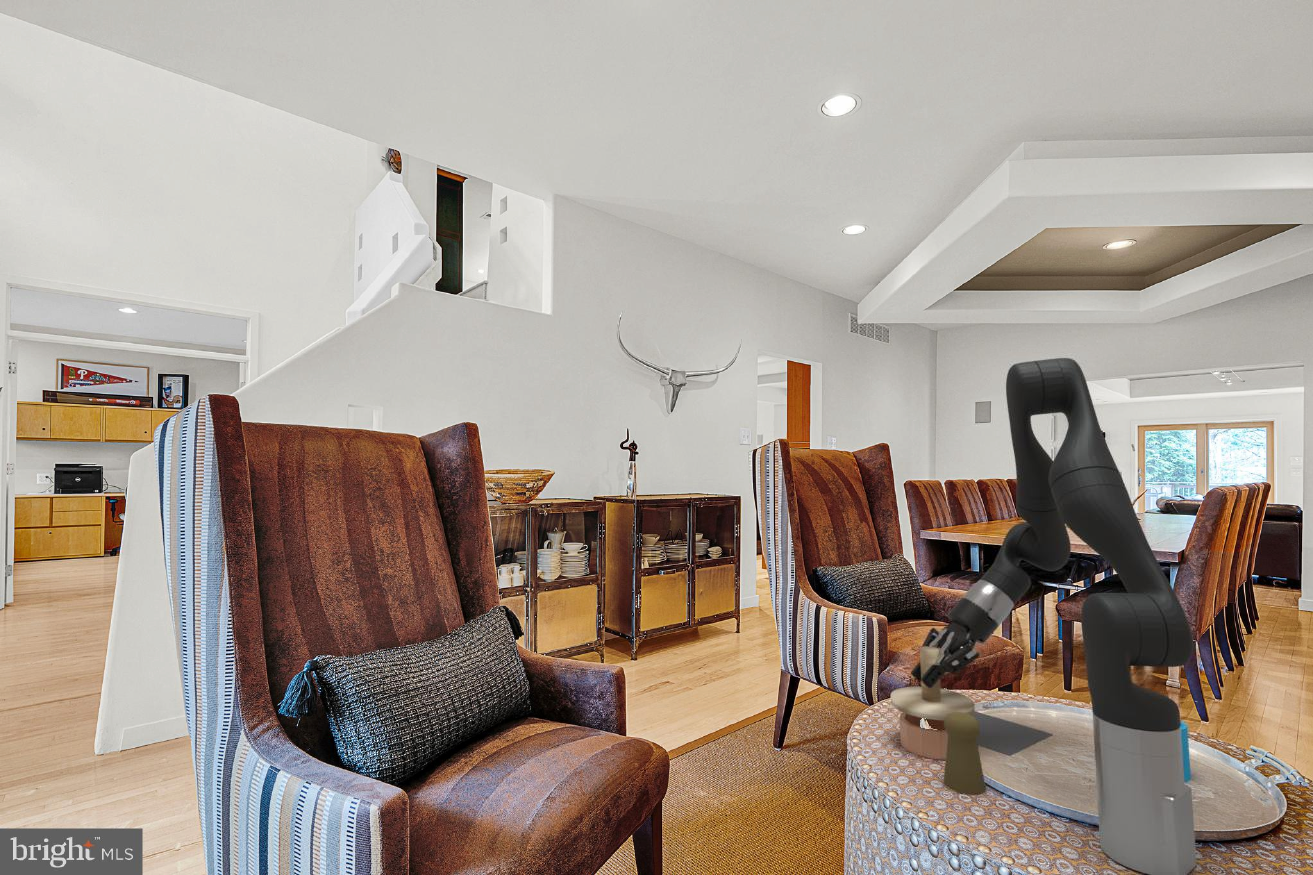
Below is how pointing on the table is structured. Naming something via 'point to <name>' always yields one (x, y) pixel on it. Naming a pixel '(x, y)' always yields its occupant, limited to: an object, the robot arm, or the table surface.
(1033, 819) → the table surface
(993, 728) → the mat
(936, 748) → the bowl
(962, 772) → the olive pawn
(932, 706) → the lid
